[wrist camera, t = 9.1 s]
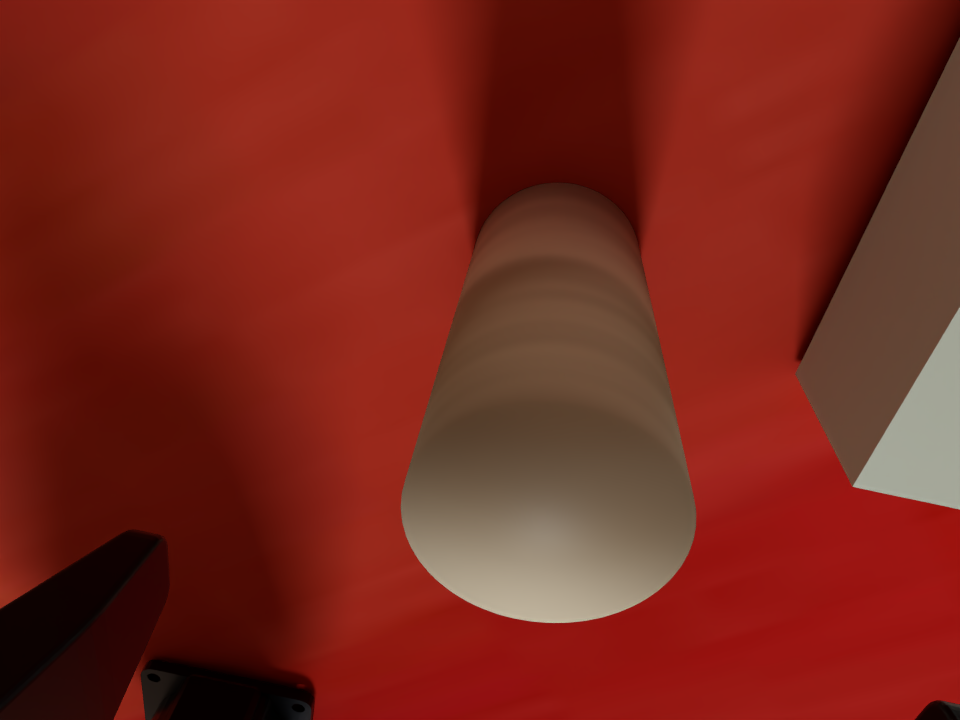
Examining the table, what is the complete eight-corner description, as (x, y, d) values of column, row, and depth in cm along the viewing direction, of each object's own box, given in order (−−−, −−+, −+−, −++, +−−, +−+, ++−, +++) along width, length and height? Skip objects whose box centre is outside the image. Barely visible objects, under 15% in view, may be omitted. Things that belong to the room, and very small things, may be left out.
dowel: (613, 349, 19) (644, 645, 11) (461, 317, 19) (385, 591, 11) (662, 202, 17) (742, 440, 9) (490, 166, 17) (421, 372, 9)
